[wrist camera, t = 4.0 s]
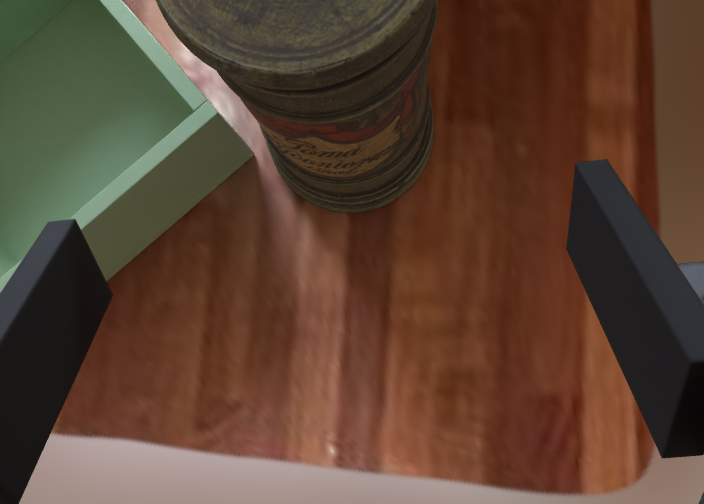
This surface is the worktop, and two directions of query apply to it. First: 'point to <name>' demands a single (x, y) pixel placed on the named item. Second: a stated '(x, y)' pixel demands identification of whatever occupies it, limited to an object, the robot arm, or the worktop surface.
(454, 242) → the worktop surface
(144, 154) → the tub
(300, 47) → the container
